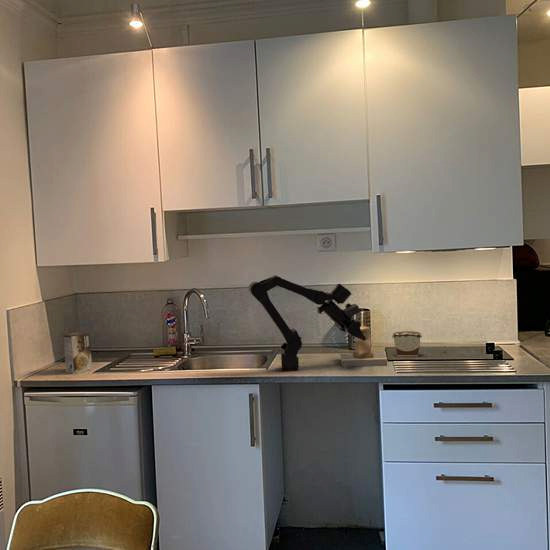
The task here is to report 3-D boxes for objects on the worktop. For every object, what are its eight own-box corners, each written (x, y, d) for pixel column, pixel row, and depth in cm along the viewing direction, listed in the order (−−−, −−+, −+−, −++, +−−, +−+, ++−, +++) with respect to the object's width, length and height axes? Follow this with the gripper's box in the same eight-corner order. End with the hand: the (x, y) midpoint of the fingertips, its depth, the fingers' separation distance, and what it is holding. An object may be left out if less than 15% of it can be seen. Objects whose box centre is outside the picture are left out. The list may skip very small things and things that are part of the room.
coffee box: (84, 368, 264) (81, 331, 263) (92, 369, 260) (90, 332, 259) (65, 372, 257) (62, 334, 256) (73, 374, 253) (71, 335, 252)
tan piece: (358, 358, 246) (357, 329, 245) (352, 355, 253) (351, 327, 252) (373, 357, 247) (372, 328, 247) (367, 354, 254) (366, 325, 253)
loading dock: (342, 366, 245) (341, 360, 244) (340, 359, 257) (340, 353, 257) (387, 365, 243) (386, 358, 243) (383, 358, 256) (383, 352, 256)
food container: (422, 353, 262) (422, 330, 262) (422, 356, 256) (421, 333, 256) (393, 353, 266) (393, 330, 265) (392, 356, 260) (392, 333, 259)
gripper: (355, 300, 238) (382, 326, 241) (340, 295, 257) (366, 320, 259) (336, 321, 237) (364, 347, 240) (323, 315, 256) (349, 339, 258)
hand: (361, 337), depth 250 cm, fingers open, 9 cm apart
